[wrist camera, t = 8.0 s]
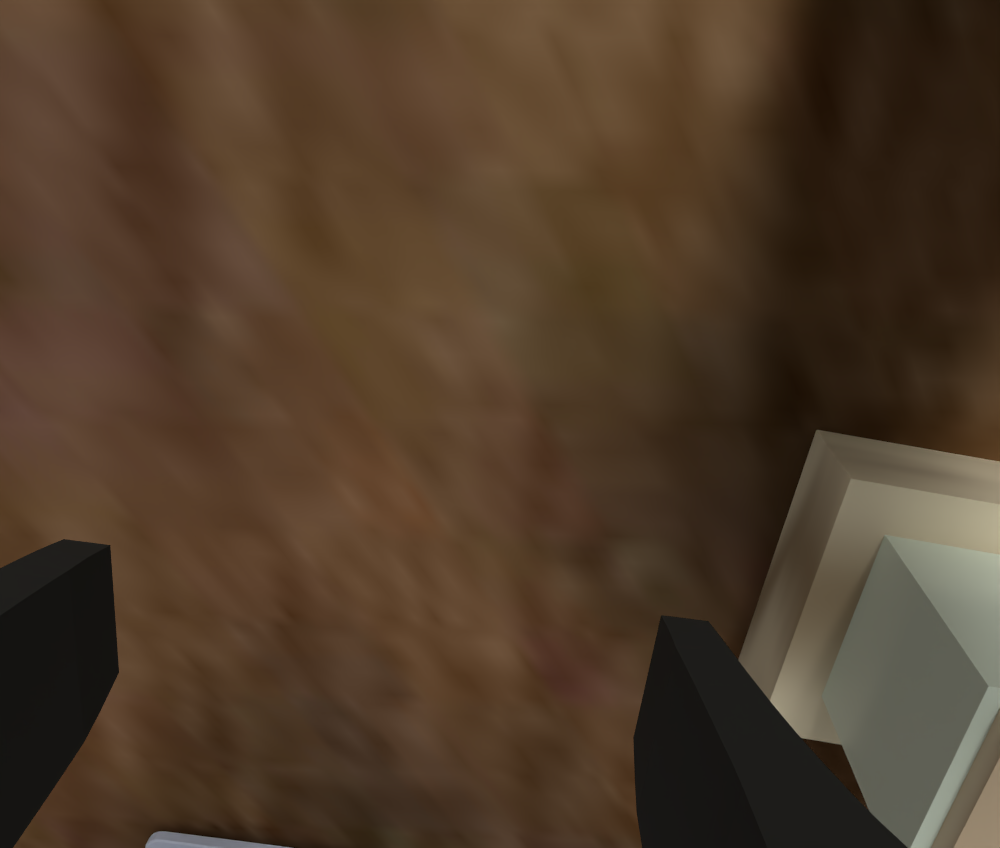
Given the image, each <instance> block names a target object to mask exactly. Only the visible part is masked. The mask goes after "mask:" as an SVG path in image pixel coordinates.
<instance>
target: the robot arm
mask: <svg viewBox="0 0 1000 848" xmlns="http://www.w3.org/2000/svg"><path fill="white" fill-rule="evenodd" d="M118 673H119V667H118V652H117V638H116V623H115V609H114V594H113V580H112V565H111V551H110V545H104V544H96V543H89V542H81V541H73V540H65V539H63V540H61V541H59V542H56V543H54V544H51V545H49V546H46V547H44V548H42V549H40V550H37V551H35V552H33V553H31V554H29V555H27V556H25V557H23V558H20V559H18V560H16V561H14V562H12V563H10V564H8V565H6V566H4V567H2V568H0V848H13V847H14V845H15V844H16V842H17V841H18V840H19V838H20V837H21V835H22V834H23V832H24V831H25V829H26V828H27V826H28V825H29V823H30V822H31V820H32V819H33V818H34V816H35V815H36V813H37V812H38V810H39V809H40V807H41V806H42V804H43V803H44V801H45V800H46V799H47V797H48V796H49V794H50V793H51V791H52V790H53V788H54V787H55V785H56V784H57V782H58V781H59V779H60V778H61V776H62V775H63V773H64V772H65V770H66V769H67V767H68V766H69V764H70V763H71V761H72V760H73V758H74V757H75V755H76V754H77V752H78V751H79V749H80V747H81V746H82V744H83V743H84V741H85V739H86V737H87V736H88V734H89V732H90V730H91V728H92V726H93V724H94V722H95V720H96V718H97V716H98V714H99V712H100V711H101V708H102V706H103V704H104V702H105V700H106V698H107V696H108V694H109V692H110V690H111V688H112V686H113V683H114V681H115V679H116V677H117V675H118ZM634 764H635V788H636V807H637V816H638V823H639V829H640V836H641V842H642V848H908V847H907V846H906V845H904V844H903V843H902V842H901V841H900V840H899V839H898V838H897V837H896V836H895V835H894V834H893V833H892V832H890V831H889V830H888V829H887V828H886V827H885V826H884V825H883V824H882V823H881V822H880V821H879V820H878V819H877V818H876V817H875V816H874V815H873V814H872V813H871V812H870V811H869V810H867V809H866V808H865V807H864V806H863V805H862V804H861V803H860V802H859V801H858V800H857V798H856V797H855V796H854V795H853V794H852V793H851V792H850V791H849V790H848V789H847V788H846V787H845V786H844V785H843V784H842V783H841V782H840V780H839V779H838V778H837V777H836V776H835V775H834V774H833V773H832V772H831V771H830V770H829V769H828V768H827V767H826V765H825V764H824V763H823V762H822V761H821V760H820V759H819V758H818V757H817V756H816V755H815V753H814V752H813V751H812V750H811V749H810V748H809V747H808V745H807V744H806V743H805V742H804V741H803V740H802V739H801V737H800V736H799V735H798V734H797V733H796V732H795V730H794V729H793V728H792V727H791V726H790V725H789V723H788V722H787V721H786V720H785V719H784V717H783V716H782V715H781V714H780V712H779V711H778V710H777V709H776V708H775V706H774V705H773V704H772V703H771V701H770V700H769V699H768V698H767V696H766V695H765V694H764V693H763V691H762V690H761V689H760V688H759V686H758V685H757V684H756V683H755V681H754V680H753V679H752V677H751V676H750V675H749V674H748V672H747V671H746V670H745V668H744V667H743V666H742V665H741V663H740V662H739V661H738V659H737V658H736V657H735V655H734V654H733V653H732V651H731V650H730V649H729V648H728V646H727V645H726V644H725V642H724V641H723V640H722V638H721V637H720V636H719V634H718V633H717V632H716V631H715V629H714V628H713V627H712V625H711V624H710V623H709V622H708V621H702V620H694V619H686V618H678V617H671V616H663V615H661V619H660V623H659V628H658V632H657V637H656V641H655V645H654V650H653V654H652V659H651V663H650V668H649V672H648V676H647V681H646V685H645V690H644V694H643V698H642V703H641V707H640V712H639V716H638V721H637V725H636V729H635V734H634ZM145 848H292V847H284V846H277V845H269V844H261V843H253V842H245V841H237V840H230V839H222V838H214V837H206V836H198V835H190V834H183V833H175V832H167V831H159V832H156V833H153V834H152V835H151V836H150V838H149V840H148V842H147V844H146V847H145Z"/></svg>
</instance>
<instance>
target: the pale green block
mask: <svg viewBox="0 0 1000 848" xmlns="http://www.w3.org/2000/svg"><path fill="white" fill-rule="evenodd" d="M822 699H823V701H824V703H825V706H826V708H827V711H828V713H829V715H830V718H831V720H832V723H833V725H834V727H835V730H836V732H837V735H838V737H839V739H840V742H841V744H842V747H843V749H844V751H845V754H846V756H847V759H848V761H849V763H850V766H851V768H852V771H853V773H854V775H855V778H856V780H857V783H858V785H859V787H860V790H861V792H862V795H863V797H864V799H865V802H866V804H867V807H868V809H869V811H870V812H871V813H872V814H873V815H874V816H875V817H876V818H877V819H878V820H879V821H880V822H881V823H882V824H883V825H884V826H885V827H886V828H887V829H888V830H889V831H890V832H892V833H893V834H894V835H895V836H896V837H897V838H898V839H899V840H900V841H901V842H902V843H903V844H904V845H906V846H907V847H908V848H1000V555H999V554H994V553H988V552H982V551H976V550H970V549H965V548H959V547H953V546H947V545H942V544H936V543H930V542H924V541H919V540H913V539H907V538H901V537H895V536H889V535H884V538H883V540H882V543H881V546H880V548H879V551H878V553H877V556H876V558H875V561H874V563H873V566H872V568H871V571H870V574H869V576H868V579H867V581H866V584H865V586H864V589H863V591H862V594H861V597H860V599H859V602H858V604H857V607H856V609H855V612H854V614H853V617H852V619H851V622H850V625H849V627H848V630H847V632H846V635H845V637H844V640H843V642H842V645H841V648H840V650H839V653H838V655H837V658H836V660H835V663H834V665H833V668H832V671H831V673H830V676H829V678H828V681H827V683H826V686H825V688H824V691H823V693H822Z"/></svg>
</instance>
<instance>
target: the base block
mask: <svg viewBox="0 0 1000 848" xmlns="http://www.w3.org/2000/svg"><path fill="white" fill-rule="evenodd" d="M884 535H889V536H895V537H901V538H907V539H913V540H919V541H924V542H930V543H936V544H942V545H947V546H953V547H959V548H965V549H970V550H976V551H982V552H988V553H994V554H999V555H1000V462H999V461H993V460H987V459H982V458H976V457H970V456H964V455H959V454H953V453H947V452H942V451H936V450H930V449H925V448H919V447H913V446H907V445H902V444H896V443H890V442H885V441H879V440H873V439H868V438H862V437H856V436H850V435H845V434H839V433H833V432H828V431H822V430H816V432H815V435H814V438H813V441H812V444H811V447H810V450H809V453H808V456H807V459H806V462H805V465H804V468H803V471H802V474H801V476H800V479H799V482H798V485H797V488H796V491H795V494H794V497H793V500H792V503H791V506H790V509H789V512H788V515H787V518H786V521H785V524H784V527H783V529H782V532H781V535H780V538H779V541H778V544H777V547H776V550H775V553H774V556H773V559H772V562H771V565H770V568H769V571H768V574H767V577H766V579H765V582H764V585H763V588H762V591H761V594H760V597H759V600H758V603H757V606H756V609H755V612H754V615H753V618H752V621H751V624H750V627H749V630H748V632H747V635H746V638H745V641H744V644H743V647H742V650H741V653H740V656H739V659H738V661H739V662H740V663H741V665H742V666H743V667H744V668H745V670H746V671H747V672H748V674H749V675H750V676H751V677H752V679H753V680H754V681H755V683H756V684H757V685H758V686H759V688H760V689H761V690H762V691H763V693H764V694H765V695H766V696H767V698H768V699H769V700H770V701H771V703H772V704H773V705H774V706H775V708H776V709H777V710H778V711H779V712H780V714H781V715H782V716H783V717H784V719H785V720H786V721H787V722H788V723H789V725H790V726H791V727H792V728H793V729H794V730H795V732H796V733H797V734H798V735H799V736H800V737H801V738H804V739H810V740H816V741H822V742H828V743H834V744H840V745H842V744H841V742H840V739H839V737H838V735H837V732H836V730H835V727H834V725H833V723H832V720H831V718H830V715H829V713H828V711H827V708H826V706H825V703H824V701H823V699H822V693H823V691H824V688H825V686H826V683H827V681H828V678H829V676H830V673H831V671H832V668H833V665H834V663H835V660H836V658H837V655H838V653H839V650H840V648H841V645H842V642H843V640H844V637H845V635H846V632H847V630H848V627H849V625H850V622H851V619H852V617H853V614H854V612H855V609H856V607H857V604H858V602H859V599H860V597H861V594H862V591H863V589H864V586H865V584H866V581H867V579H868V576H869V574H870V571H871V568H872V566H873V563H874V561H875V558H876V556H877V553H878V551H879V548H880V546H881V543H882V540H883V538H884Z"/></svg>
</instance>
